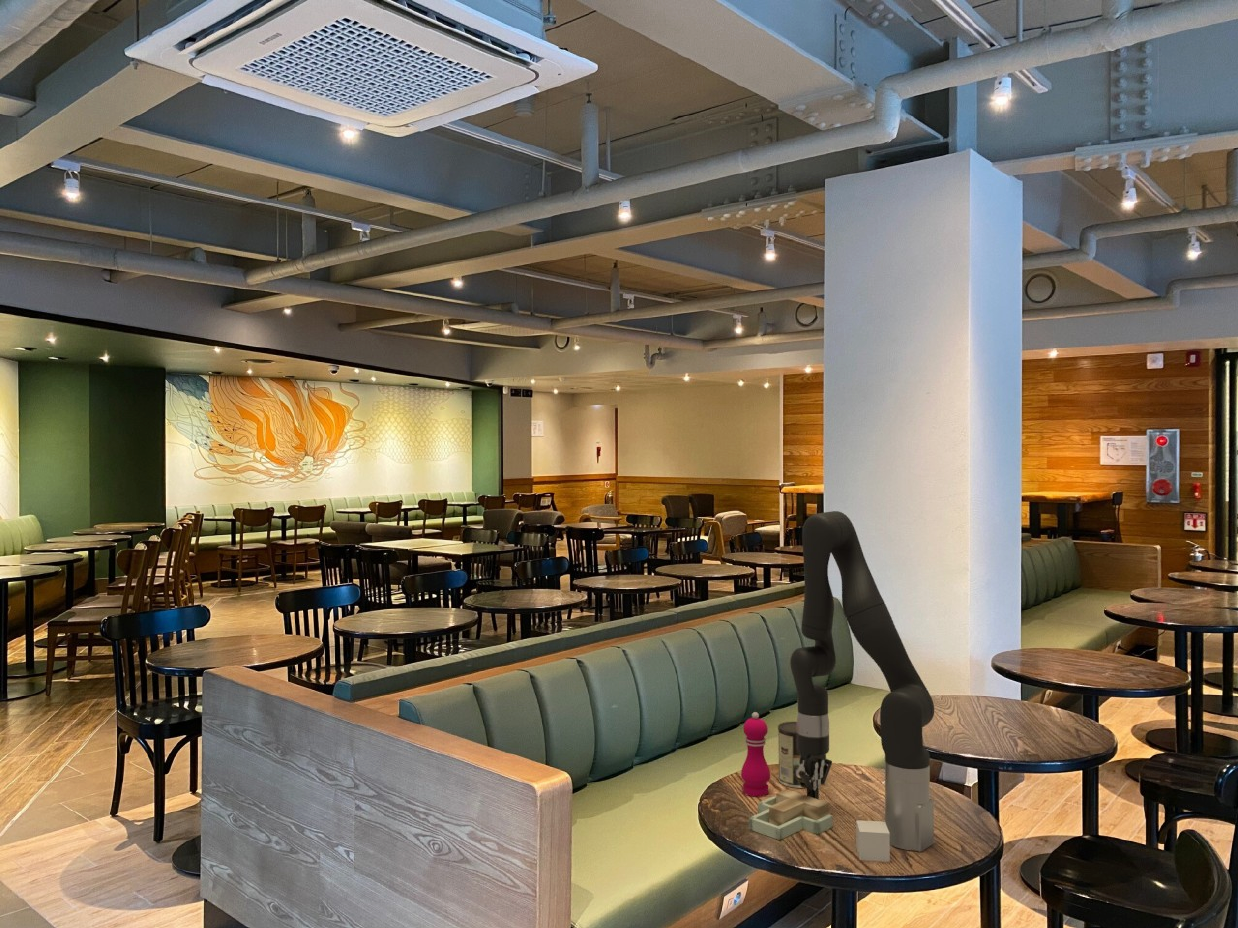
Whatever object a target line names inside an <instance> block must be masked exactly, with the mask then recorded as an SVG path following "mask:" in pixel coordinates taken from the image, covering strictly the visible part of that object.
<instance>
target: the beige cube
mask: <svg viewBox="0 0 1238 928" xmlns="http://www.w3.org/2000/svg"><path fill="white" fill-rule="evenodd" d="M855 839H856V841H855V848H856V852H857V855H858V858H859V861H865V862H883V863H885V862H886V863H887V862H888V863H890V861H891V859H890V857H891V856H890V855H891V854H890V852H891V851H890V848H891V847H890V846H891V845H890V833H889V831H888V828H887V826H886V823H885V821H878V820H877V821H875V820H874V821H873V820H860V819H858V820H855Z"/></svg>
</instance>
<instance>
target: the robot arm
mask: <svg viewBox="0 0 1238 928" xmlns="http://www.w3.org/2000/svg"><path fill="white" fill-rule="evenodd" d="M801 537H802V555H803V557H802V558H803V559H802V560H803V576H804V579H803V580H804V595H803V596H804V598H803V608H802V616H801V617H802V620H801V630H800V632H801V634H802V635H803V636H804V638H805V639H809V640H812V641H814V646H813V645H812V646H806V647H805V646H804V647H798V648H796V649H795V650H794V651H793V652H792V653H791V657H790V659H789V660H790V662H789V664H790V669H791V674H792V677H793V681H794V685H795V689H796V693H797V715H796V716H797V717H796V722H797V750H798V751H799V752H800V754H801V757H800V761H799V763H800V766H799V768H798V769H794V770H793V774H794V775H795V777H796V779H797V781H798V782H799V784H800V786H801V787H803V788H802V789H806V796H809V797H812V798H816V799H819V800H820V796H819V795H820V794H819V792H820V790H819V789H821V785H825V783H826V781H827V777H828V775H829V772H830V769H831V767H832V764H833V761H832V760H831V759H828V758H827V754H828V753H829V751H830V720H829V719H830V718H829V693H828V691H827V689H826V688H825V687H823V686H820V685H818V684H817V685H816V684H814V682H813V678H815V677H824V676H825V677H826V676H828V675H830V674H831V673H832V672H833V671H834V669H835V667H836V664H837V661H836V660H837V656H836V650H835V645H834V639H833V631H832V630H833V621H834V614H835V613H834V612H835V602H834V596H833V592H832V589H831V585H830V581H829V576H828V575H829V571H828V570H829V569H828V568H829V561H830V558H831V555H832V557H833V559H834V561H835V563H836V565H837V568H838V571H839V574H840V577H841V578H840V579H841V604H842V611H843V614H844V616H845V619H846V621H847V624H848V626H849V628H850V630H851V633H852V634H853V636H854V638H855V640H856V641H857V643H858V644H859V645H860V647H861V648H862V649H863V650H864V651H865V653H867V655H868V656H869V657H870V658H871V659H872V660H873V662H875V664H877V666H878V668H879V669H880V671H881V672H882V674H883V676H884V677H883V678H884V679H885V681H886V683H887V685H888V689H889V691H890V692H889V693H888V694H886V695H885V696H884V697H883V699H882V702H881V705H880V714H879V715H880V716H879V718H880V741H881V743H880V744H881V748H882V751H883V753H884V818H885V819H884V822H885V823H886V826H887V828H888V831H889V833H890V846H892V847H895V848H898V849H900V850H901V849H902V850H907V851H917V852H919V853H921V852H923V851H924V850H926V849H927V848H929V847H932V846H933V845H934V844H935V828H934V827H935V815H934V814H935V813H934V812H935V807H934V805H935V804H934V799H932V798H931V796H930V795H931V793H930V792H931V791H930V790H931V788H930V782H931V780H930V779H931V778H930V777H931V775H930V773H931V772H930V770H931V769H930V763H931V761H930V752H929V750H928V749H927V748H926V747H924V743H923V742H924V741H923V739H924V738H923V728H924V727H925V726H928V725H929V724H930V723H931V721H932V720H933V719H934V715H935V705H934V704H935V703H934V701H933V698H932V696H931V694H930V693H929V691H928V688H927V687H926V685H925V683H924V682H923V680H922V679H921V677H920V675H919V673H918V672H917V669H916V668H915V665H914V664H913V663H912V661H911V659H910V657H909V655H908V651H907V650H906V647H905V645H904V643H903V640H902V639H901V636H900V635H899V632H898V630H897V628H896V626H895V623H894V620H893V617H892V616H891V613H890V612H889V609H888V606H887V605H886V603H885V600H884V598H883V596H882V595H881V593H880V591H879V588H878V585H877V584H876V582H875V579H874V577H873V574H872V572H871V569H870V568H869V565H868V563H867V561H866V557H865V554H864V552H863V549H862V546H861V543H860V540H859V537H858V534H857V532H856V529H855V527H854V524H853V523H852V520H851V519H850V518H849V516H847V515H846V514H845V513H844V512H842V511H837V510H831V511H827V512H826V511H825V512H818V513H815V514H812V515H810V516H809V517H808V518H806V520H805V521H804V523H803V526H802V536H801Z"/></svg>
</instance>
